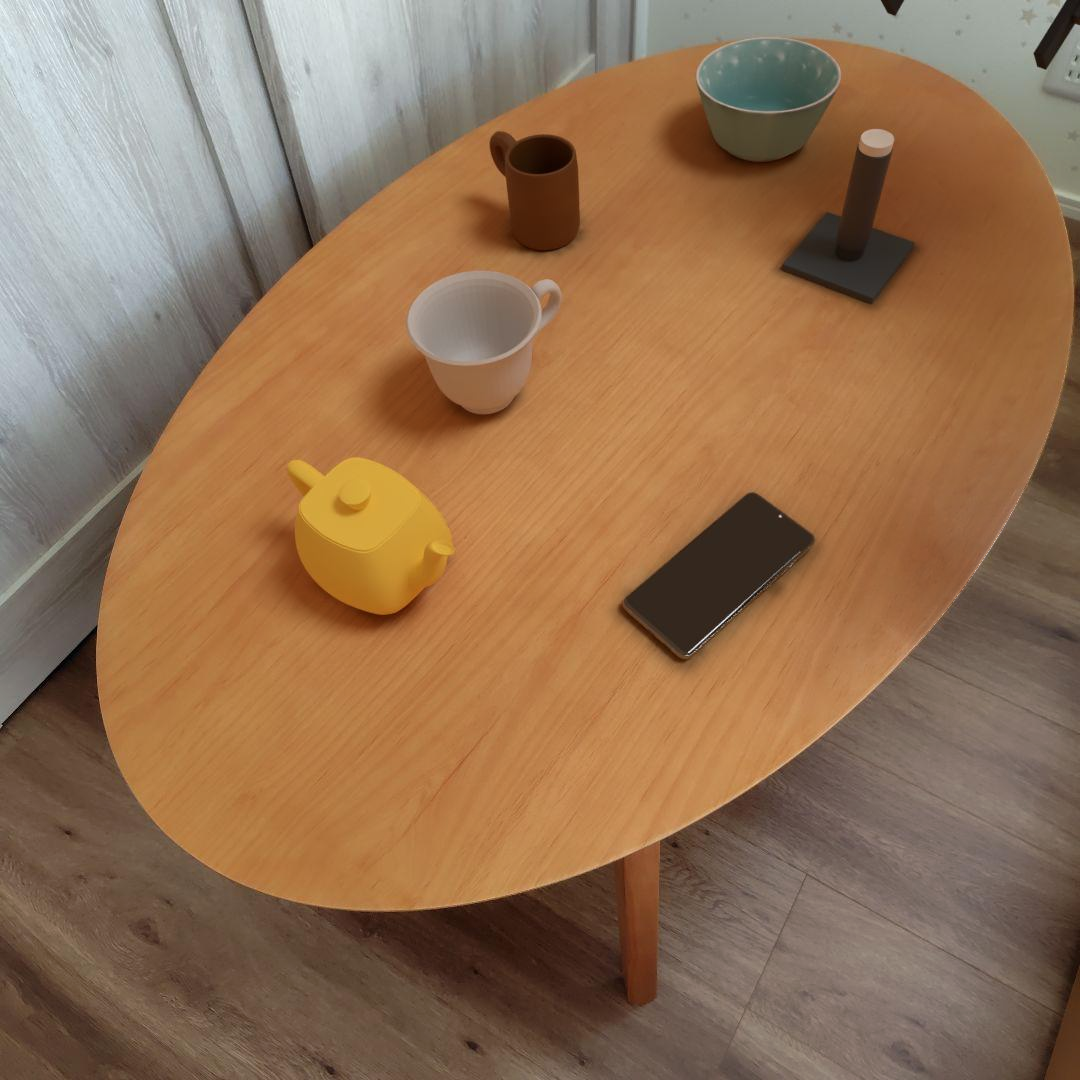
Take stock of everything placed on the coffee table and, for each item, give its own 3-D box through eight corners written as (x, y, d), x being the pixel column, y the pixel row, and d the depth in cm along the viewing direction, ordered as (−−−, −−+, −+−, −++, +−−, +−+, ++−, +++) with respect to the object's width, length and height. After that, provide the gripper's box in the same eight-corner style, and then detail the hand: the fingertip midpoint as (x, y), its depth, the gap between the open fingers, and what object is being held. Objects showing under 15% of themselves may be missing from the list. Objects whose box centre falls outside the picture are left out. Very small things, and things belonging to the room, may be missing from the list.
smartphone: (618, 601, 76) (751, 487, 81) (618, 608, 77) (750, 495, 82) (685, 660, 72) (820, 537, 77) (684, 666, 73) (818, 545, 78)
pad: (913, 248, 98) (915, 242, 98) (871, 304, 94) (873, 298, 94) (825, 217, 102) (826, 211, 102) (781, 270, 98) (782, 263, 97)
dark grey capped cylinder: (870, 249, 98) (901, 134, 87) (856, 266, 96) (886, 152, 86) (841, 239, 99) (868, 124, 88) (827, 256, 98) (853, 141, 87)
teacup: (597, 391, 90) (595, 311, 82) (462, 460, 86) (445, 384, 78) (532, 320, 96) (524, 239, 88) (403, 382, 93) (382, 303, 84)
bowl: (664, 135, 113) (667, 67, 106) (765, 87, 117) (774, 20, 110) (751, 198, 105) (760, 130, 98) (856, 145, 109) (872, 76, 102)
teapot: (511, 575, 79) (498, 498, 70) (426, 672, 74) (400, 603, 66) (356, 480, 86) (326, 400, 77) (270, 564, 81) (227, 489, 73)
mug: (473, 214, 107) (462, 138, 99) (524, 184, 109) (516, 108, 102) (543, 262, 101) (536, 186, 93) (594, 230, 104) (592, 153, 96)
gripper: (1307, -190, 67) (1112, 104, 74) (986, -255, 78) (843, 6, 85) (1323, -262, 60) (1108, 67, 67) (971, -322, 71) (817, -33, 78)
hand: (960, 34), depth 76 cm, fingers open, 13 cm apart
